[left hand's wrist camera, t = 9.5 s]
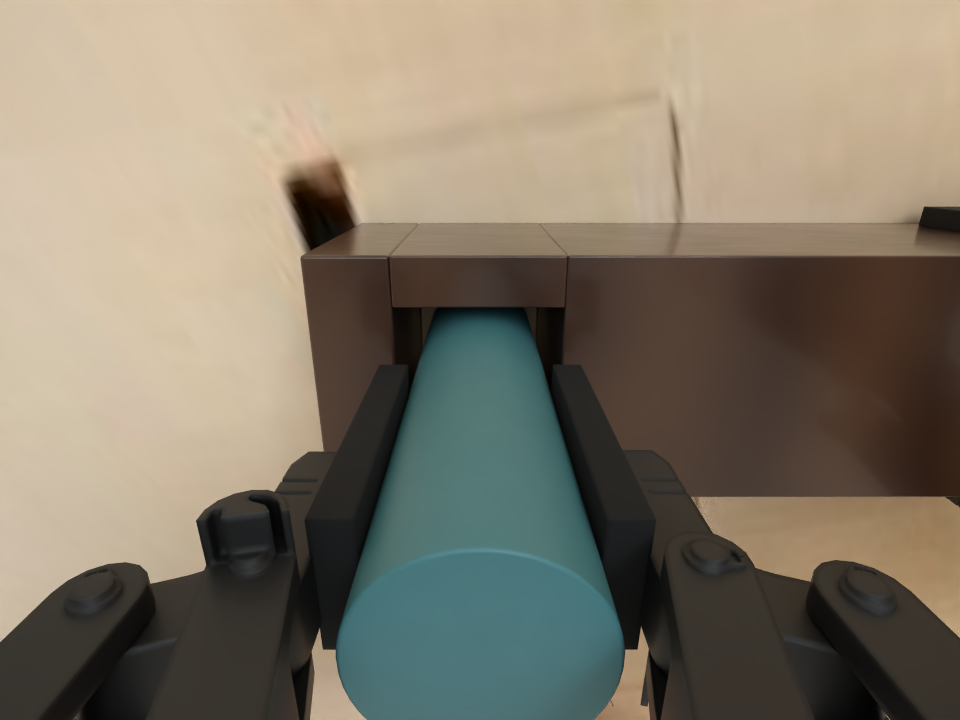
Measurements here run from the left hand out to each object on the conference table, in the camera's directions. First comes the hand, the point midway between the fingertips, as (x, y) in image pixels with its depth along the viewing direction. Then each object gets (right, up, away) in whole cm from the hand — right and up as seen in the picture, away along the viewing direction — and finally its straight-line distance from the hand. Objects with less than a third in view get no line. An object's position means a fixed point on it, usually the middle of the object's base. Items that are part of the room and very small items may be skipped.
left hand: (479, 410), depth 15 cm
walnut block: (+9, +3, +9) cm, 13 cm away
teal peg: (0, +3, +7) cm, 7 cm away
